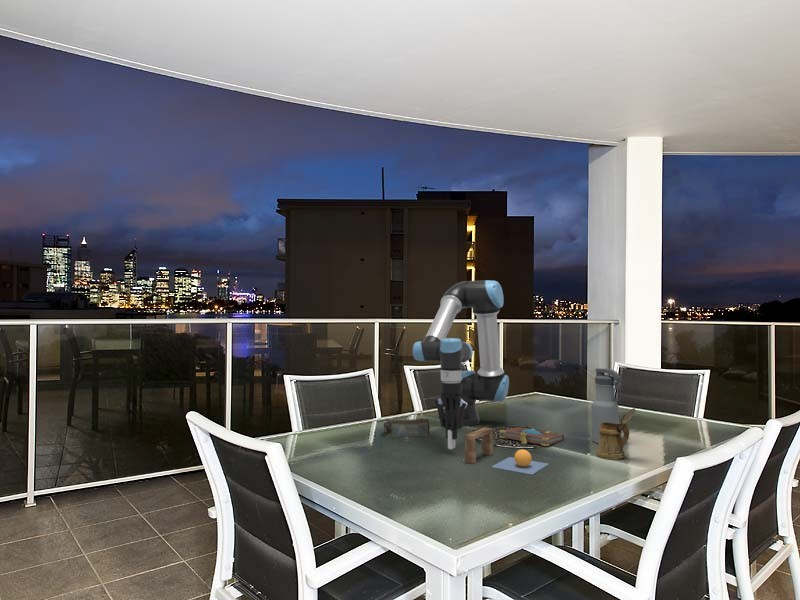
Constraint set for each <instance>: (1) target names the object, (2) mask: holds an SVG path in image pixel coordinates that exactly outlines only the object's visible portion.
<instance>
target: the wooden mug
mask: <svg viewBox="0 0 800 600" xmlns="http://www.w3.org/2000/svg"><path fill="white" fill-rule="evenodd" d="M635 414H636V408H635V407H633V408H632V409H630V410H629V411H627V412H626V413H625V414H624V415H623V416H622V418H621V420H620V422H619V423H617V424H616V423H609V422H605V423H601V427H600V429H599V432H600V436H599V444H598V443H597V444H598V446H597V450H596V457H598V458H600V459H604V460H612V461H613V460H614V461H618V460H622V459H624V458H625V456H626V455H625V451H624V446H625V445H626V443H627V442H628V440H629V438H630V429H629V427H628V425H627V424H628V423H629V422H630V420H632V418H633V417H634V415H635ZM622 432H623V437H622V435H621V434H622Z"/></svg>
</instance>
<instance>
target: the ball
mask: <svg viewBox="0 0 800 600" xmlns="http://www.w3.org/2000/svg"><path fill="white" fill-rule="evenodd" d="M513 458H514V460H515V462H516V464H517V465H518V466H520V467H527V466H528V465H530V463H531V461H533V459H532V454H531V453H530V452H529V451H528V450H526V449H518V450H517V451H516V452H515V453H514V457H513Z"/></svg>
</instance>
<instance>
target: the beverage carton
mask: <svg viewBox="0 0 800 600" xmlns="http://www.w3.org/2000/svg"><path fill="white" fill-rule="evenodd" d="M382 425H383V437H384V436H398V437H397V438H413V437H414V438H418V437H419V438H430V429H431V428H430V427H431V426H430V422H429V419H428V418H427V419H426V418H417V419H416V418H415V419H385V420H384V421H383V424H382Z"/></svg>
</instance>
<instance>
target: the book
mask: <svg viewBox="0 0 800 600" xmlns="http://www.w3.org/2000/svg"><path fill="white" fill-rule="evenodd" d="M498 432H500V433H501V434H502V435H500V436H499V438H501V439H509V440H514V441H519V442H521V444H523V445H525V444H526V445H527V444H528V443H530V444H535V445H541V446H544V447H549V446H550V445H553V444H557V443H561V442H563V441H564V440H565V436H564V434H561V433H557V432H551V431H550V430H547V431H545V430H538V429H535V428H525V427H520V426H519V427H514V428H513V427H512V428H508V429H500V430H499V431H498Z"/></svg>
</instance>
